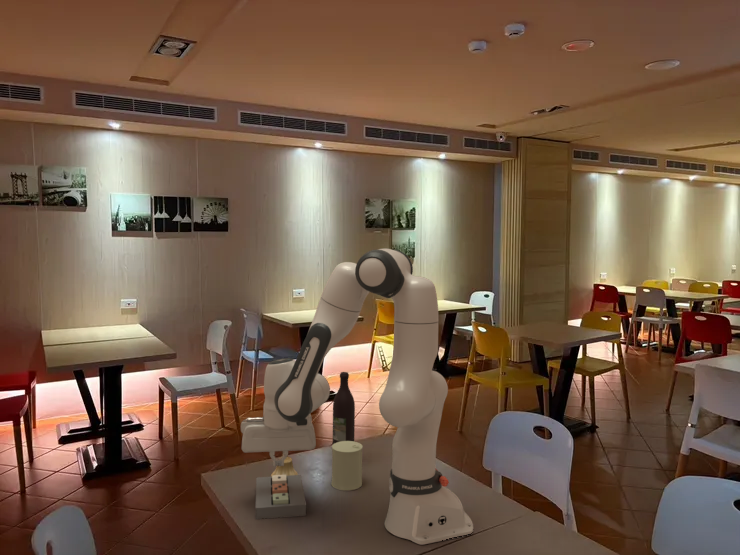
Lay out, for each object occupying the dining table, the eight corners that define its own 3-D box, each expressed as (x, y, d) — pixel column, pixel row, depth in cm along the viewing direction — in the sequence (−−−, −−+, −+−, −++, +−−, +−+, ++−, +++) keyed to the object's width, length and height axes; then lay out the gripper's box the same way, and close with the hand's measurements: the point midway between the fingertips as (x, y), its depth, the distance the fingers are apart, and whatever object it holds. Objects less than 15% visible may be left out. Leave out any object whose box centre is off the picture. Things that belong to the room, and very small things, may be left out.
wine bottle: (330, 460, 187) (331, 370, 184) (351, 458, 188) (352, 369, 186) (334, 469, 180) (335, 375, 178) (356, 467, 181) (357, 374, 179)
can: (358, 492, 164) (359, 451, 163) (327, 488, 165) (328, 448, 165) (365, 479, 173) (365, 440, 172) (335, 476, 174) (336, 438, 174)
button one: (285, 482, 166) (285, 473, 165) (286, 488, 162) (286, 479, 162) (272, 483, 165) (272, 474, 165) (272, 489, 161) (272, 480, 161)
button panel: (301, 484, 168) (301, 474, 168) (305, 515, 149) (305, 504, 149) (256, 487, 166) (256, 477, 165) (255, 519, 147) (255, 508, 147)
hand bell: (303, 474, 175) (304, 424, 174) (286, 484, 168) (286, 431, 167) (283, 468, 180) (283, 419, 178) (265, 477, 173) (265, 426, 171)
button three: (286, 491, 160) (286, 482, 160) (287, 497, 156) (287, 488, 156) (272, 492, 159) (272, 483, 159) (272, 498, 155) (272, 489, 155)
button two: (287, 501, 154) (287, 492, 154) (288, 508, 150) (288, 498, 150) (272, 502, 153) (272, 493, 153) (273, 509, 149) (273, 499, 149)
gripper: (240, 421, 151) (239, 472, 152) (317, 419, 155) (315, 468, 156) (241, 414, 157) (240, 462, 158) (315, 412, 161) (313, 459, 162)
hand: (278, 465), depth 157 cm, fingers closed
